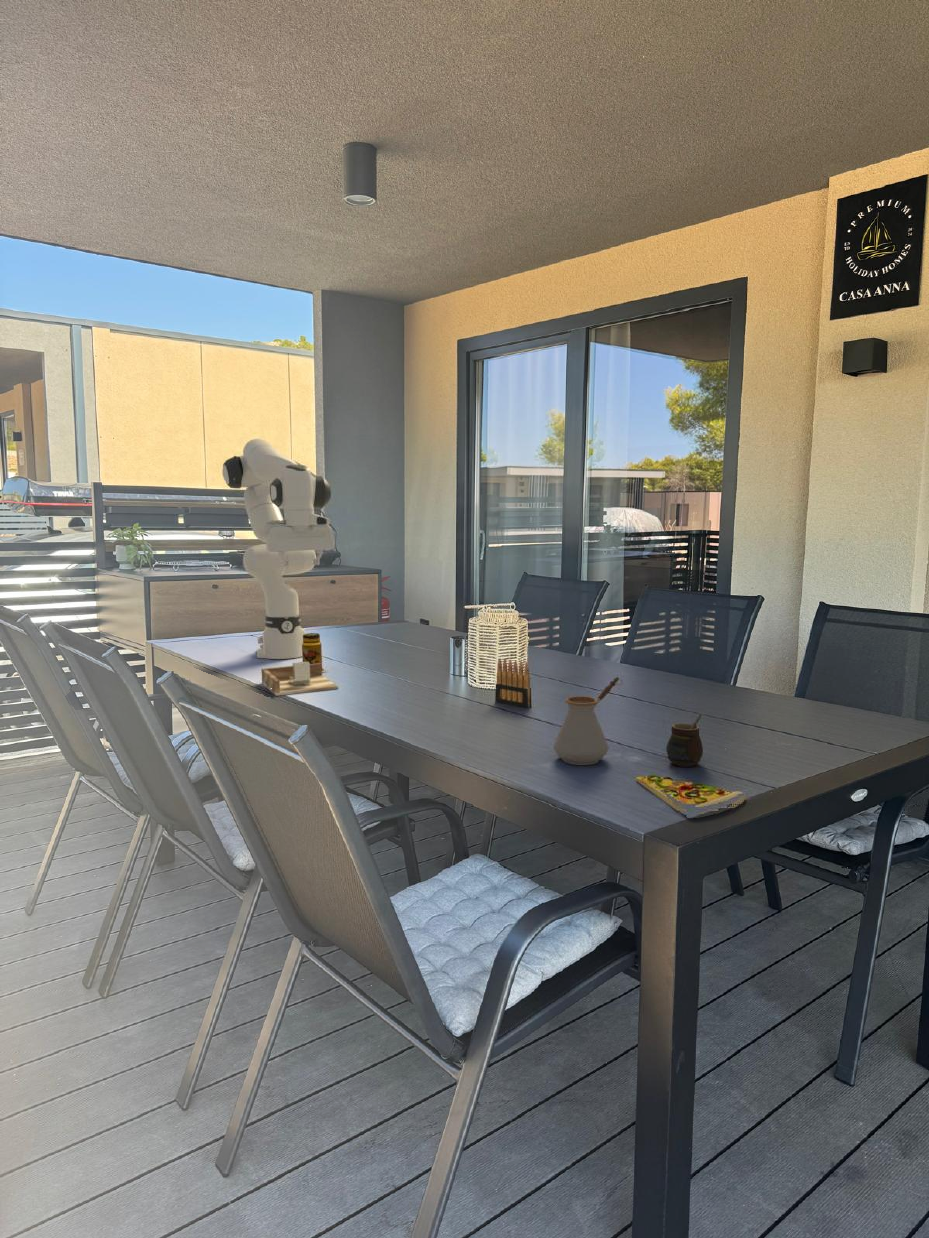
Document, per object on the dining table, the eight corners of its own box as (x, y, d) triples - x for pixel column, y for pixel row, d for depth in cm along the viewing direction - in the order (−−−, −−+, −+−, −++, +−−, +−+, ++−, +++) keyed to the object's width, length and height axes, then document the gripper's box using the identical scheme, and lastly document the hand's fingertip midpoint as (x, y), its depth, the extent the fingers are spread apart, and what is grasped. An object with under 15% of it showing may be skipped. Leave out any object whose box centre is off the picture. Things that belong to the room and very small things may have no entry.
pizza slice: (697, 825, 143) (698, 808, 143) (608, 791, 160) (608, 776, 159) (752, 804, 152) (753, 788, 152) (662, 774, 169) (663, 760, 168)
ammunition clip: (494, 702, 226) (494, 658, 224) (499, 700, 227) (498, 657, 225) (527, 708, 219) (527, 663, 217) (531, 706, 220) (531, 661, 219)
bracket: (310, 684, 244) (309, 662, 243) (295, 686, 242) (294, 664, 242) (304, 679, 251) (303, 658, 250) (289, 681, 249) (288, 659, 248)
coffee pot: (589, 772, 169) (590, 699, 167) (542, 760, 176) (542, 690, 174) (641, 746, 185) (642, 680, 183) (595, 737, 192) (596, 673, 190)
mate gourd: (658, 762, 174) (659, 715, 173) (682, 756, 179) (684, 710, 177) (685, 771, 169) (687, 722, 167) (710, 764, 173) (712, 717, 171)
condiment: (305, 674, 262) (303, 636, 261) (297, 669, 270) (295, 632, 268) (327, 672, 266) (326, 634, 264) (319, 667, 273) (317, 630, 271)
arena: (262, 682, 251) (261, 668, 251) (321, 676, 259) (320, 663, 258) (275, 695, 235) (275, 680, 235) (338, 688, 243) (337, 674, 242)
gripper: (266, 520, 246) (269, 568, 248) (335, 519, 254) (336, 564, 256) (262, 520, 251) (264, 566, 253) (329, 518, 260) (330, 563, 262)
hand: (301, 565), depth 255 cm, fingers open, 8 cm apart
